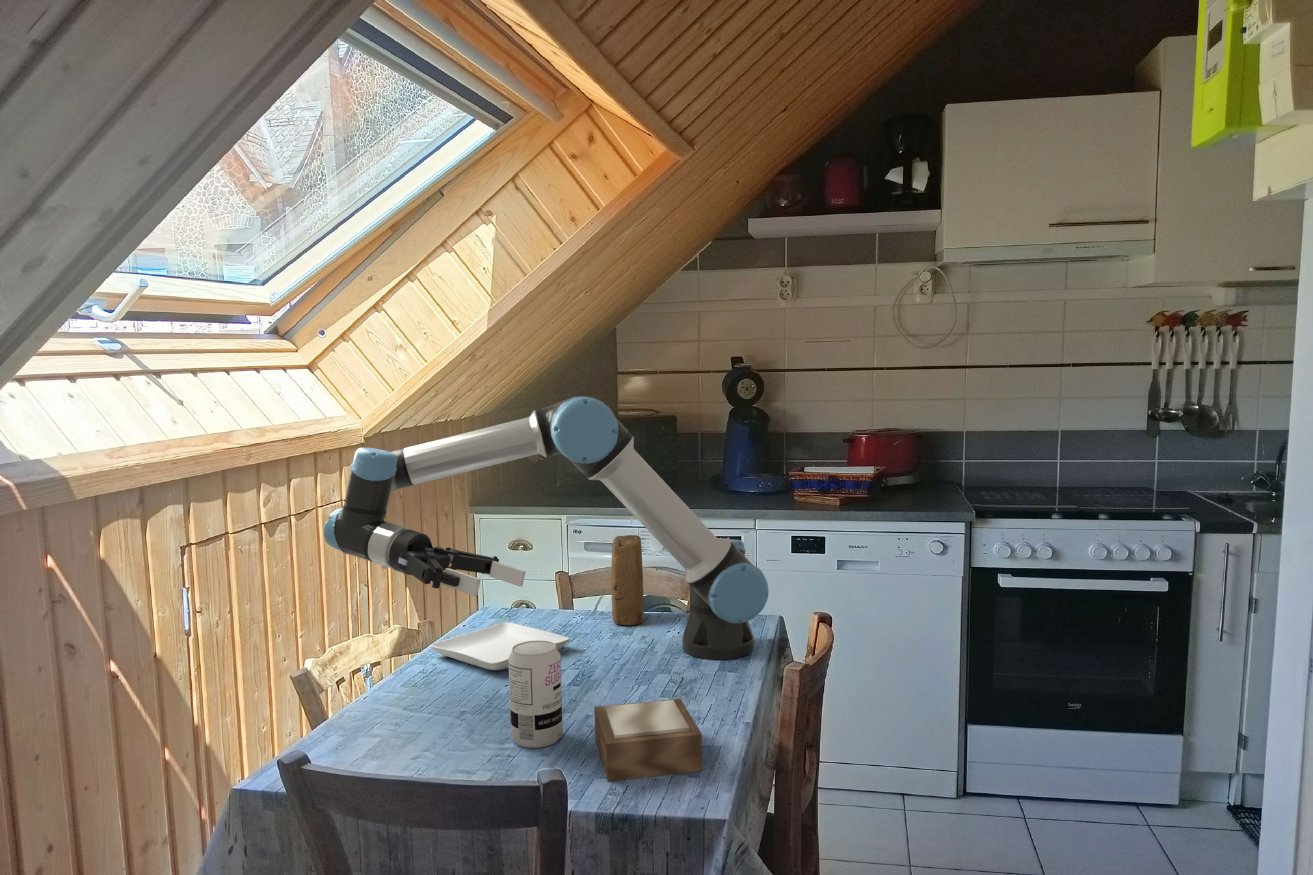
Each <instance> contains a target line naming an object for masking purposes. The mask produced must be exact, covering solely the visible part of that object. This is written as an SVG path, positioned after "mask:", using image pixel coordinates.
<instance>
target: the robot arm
mask: <svg viewBox="0 0 1313 875" xmlns="http://www.w3.org/2000/svg"><path fill="white" fill-rule="evenodd" d="M634 439H635V438H634V436H633V435H632V434H631V432H629V430H628V429H627V428H626V427H625V426H624V425H623V424H622V423H621V422H620V421H619V420H618V418H616V416H615V415H614V412H613V410H611V408H610V407H609V406H608V405H607V404H606V403H604V402H603V401H601V400H600V399H597V398H595V397H593V396H585V395H575V396H570V397H569V398H566V399H564V400H561V401H559V402H557V403H555V404H554V403H553V404H552V405H549V406H546V407H542V408H539V409H535V410H533V411H532V412H531V414H530V415H529V416H528V417H523V418H520V419H515V420H512V421H508V422H504V423H500V424H496V425H491V426H488V427H485V428H480V429H475V430H472V431H468V432H463V433H460V434H455V435H451V436H447V437H444V438H440V439H436V440H432V441H427V442H424V443H419V444H415V445H411V446H407V447H404V448H400V449H395V450H392V451H388V450H385V449H379V448H373V447H359V448H357V449H356V451H355V453H354V456H353V460H352V463H351V464H350V473H349V478H348V484H347V487H346V494H345V498H344V502H343V506H342V507H341V508H337V509H336V510H334V511H333V512H331V513H330V514H329V516H328V519H327V521H325V523H324V526H323V537H324V541H325V542H326V543H327V545H328V546H330V547H331V548H333V549H336V550H339V551H340V552H342V553H343V554H346V555H351V556H353V557H356V558H359V559H362V560H366V561H369V562H372V563H374V564H377V565H381V566H380V567H381V569H383V570H386V569H387V568H389V569H393V570H394V571H397V572H398V573H402V574H405V575H408V576H413V577H414V578H416V579H417V580H418V581H420V582H422V583H423V584H424V585H429V584H430V585H431V582H432V585H431V588H433V589H440V586H441V585H442V586H444V587H447V588H450V589H453V590H456V591H459V592H462V593H465V594H468V595H471V596H474V597H476V596H477V597H478V594H479V590H480V589H479V588H480V585H481V578H478V577H476V576H473V575H470V574H467V573H465V572H471V573H477V574H485V575H489V577H490V578H494V579H496V580H499V581H502V582H504V583H508V584H511V585H514V586H518V587H523V585H524V580H525V575H526V572H527V571H525V570H523V569H520V568H517V567H515V566H512V565H509V564H508V565H507V564H505V563H502V562H499V561H500V558H498V556H495V555H493V557H491V556H487V555H482V554H478V553H472V552H467V551H462V550H458V549H455V548H452V547H445V548H443V547H439V546H434V547H433V545H432V541H431V538H430V537H429V536H428V535H427V534H425V533H422V532H420V531H417V530H413V529H410V528H408V527H406V526H402V525H399V524H396V523H391V522H390V521H389V522H388V521H386V515H387V512H388V507H389V502H390V498H391V494H392V492H394V491H397V490H400V489H405V488H409V487H412V486H415V485H419V484H422V483H423V484H424V483H428V482H430V481H435V480H440V479H443V478H447V477H452V476H455V475H460V474H464V473H467V472H471V471H475V470H479V469H483V468H486V467H491V466H496V465H499V464H503V463H507V462H511V461H515V460H519V459H524V458H527V457H531V456H534V455H535V456H536V455H541V456H543V457H544V458H548V457H551V456H556V455H557V456H558V455H561V456H562V455H563V457H565V458H567V459H568V460H569V461H570V462H571V463H572V464H573V465H574V466H575V467H576V468H577V469H578V470H579V472H581V473H582V474H583V475H584V476H585V478H586V479H588V480H591V481H600V482H601V483H603V485H604V486H605V487H606V488H607V489H608V490H609V491H610V492H611V493H612V494H613V495H614V497H615V498H617V499H618V500H619V502H621V504H623V506H624V507H626V509H627V510H628V511H629V512H630V513H631V514H632V515H633V516H634V518H635V519H637V520H638V522H640V524H641V525H642V526H643V527H644V528H645V529H646V530H647V531H648V532H649V533H650V534H651V535H652V536H653V537H654V538H655V540H657V541H658V543H659V544H660V545H662V547H663V548H664V549H665V550H666V551H667V552H668V553H669V554H670V555H671V556H672V557H673V558H674V559H675V560H676V561H677V562H678V563H679V565H680V566H681V567H682V568H683V569H684V581H685V582H686V583H687V585H688V586H689V614H688V618H687V621H686V624H685V626H684V630H683V633H682V639H681V642H682V644H681V645H682V647H681V648H682V650H683V652H684V653H686V654H687V655H690V656H692V657H696V658H700V659H707V660H731V659H737V658H741V657H745V656H747V655H749V654H751V653H752V652H753V651H754V650H755V637H754V633H753V630H752V628H751V624H750V621H752V620H753V619H755V618H756V617H757V616H759V614H761V612H762V611H763V610H764V608H765V607H766V604H767V602H768V599H769V591H770V590H769V583H768V581H767V578H766V576H765V574H764V572H763V571H762V570H761V569H760V568H759V567H758V566H756V565H754V564H753V563H752V562H751V561H750V560H749V559H748V558H747V557H746V555H745V554H746V549H745V543H744V542H743V541H742V540H740V539H732V538H730V539H729V538H726V537H725V538H724V537H722V538H721V537H717V536H716V535H715V534H714V533H713V532H712V531H711V530H710V529H709V528H708V527H707V526H706V524H705V523H703V521H702V520H701V519H700V518H699V516H697V514H695V513H694V512H693V510H692V509H690V508H689V506H688V505H687V504H686V503H685V502H684V501H683V500H682V498H680V496H678V495H677V494H676V493H675V492H674V491H673V489H672V488H671V487H670V486H669V485H668V484H667V483H666V481H665V480H664V479H663V478H662V477H660V475H659V474H658V473H657V472H656V471H655V470H654V469H653V468H652V467H651V466H650V465H649V464H648V462H646V461H645V459H644V458H643V457H642V456H641V455H640V454H639V453H638V452H637V451H636V449H635V448H634V444H635V442H634ZM458 570H459V571H458ZM461 571H465V572H461Z"/></svg>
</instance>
